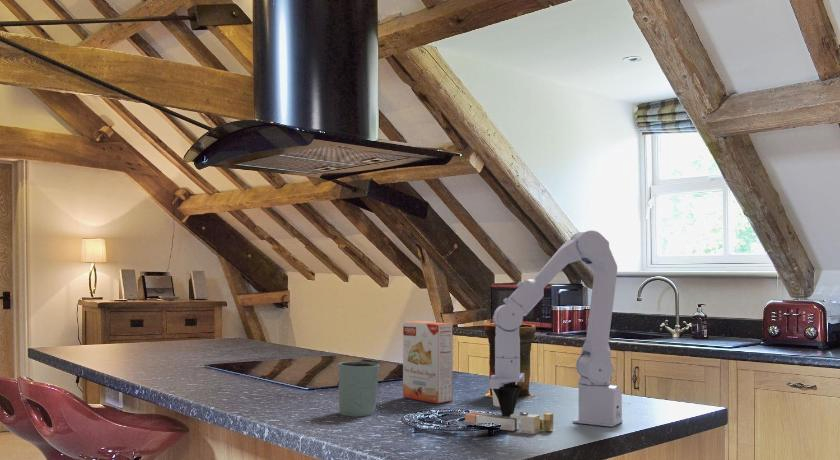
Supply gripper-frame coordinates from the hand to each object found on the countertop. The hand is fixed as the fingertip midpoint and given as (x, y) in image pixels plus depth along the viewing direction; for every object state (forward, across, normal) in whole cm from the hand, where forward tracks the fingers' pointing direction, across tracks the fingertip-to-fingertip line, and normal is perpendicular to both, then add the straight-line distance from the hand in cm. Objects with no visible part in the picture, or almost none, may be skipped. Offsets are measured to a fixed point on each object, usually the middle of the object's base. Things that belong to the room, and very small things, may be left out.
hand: (507, 416), depth 184 cm
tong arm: (+1, +6, 0) cm, 6 cm away
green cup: (+2, +9, -36) cm, 37 cm away
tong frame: (+1, +7, +2) cm, 8 cm away
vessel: (+2, -38, -17) cm, 42 cm away
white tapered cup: (+2, -22, -11) cm, 25 cm away
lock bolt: (+1, +4, +10) cm, 11 cm away
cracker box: (+2, -18, -32) cm, 37 cm away
